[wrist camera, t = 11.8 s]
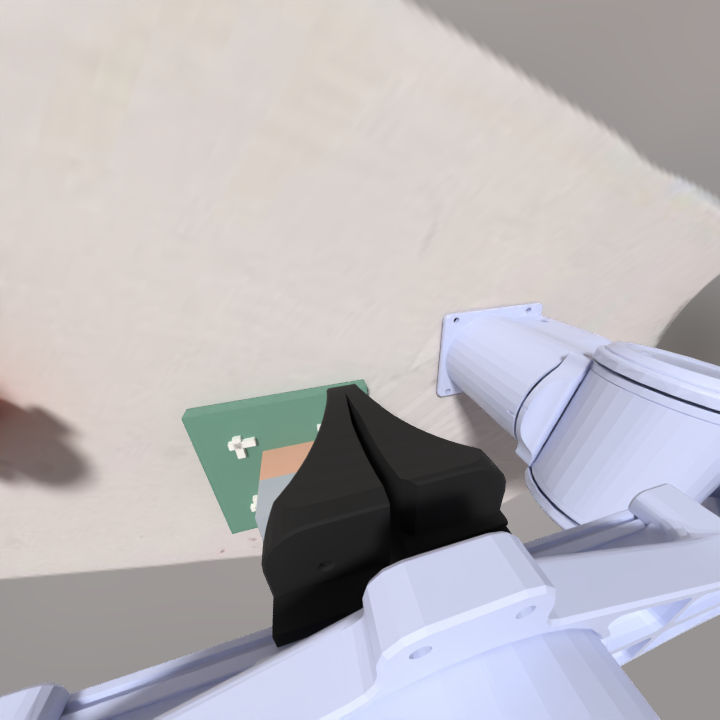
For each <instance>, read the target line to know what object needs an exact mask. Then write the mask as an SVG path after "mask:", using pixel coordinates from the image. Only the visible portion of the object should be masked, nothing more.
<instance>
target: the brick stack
mask: <svg viewBox="0 0 720 720" xmlns="http://www.w3.org/2000/svg"><path fill="white" fill-rule="evenodd" d="M313 443H314V441H311V442H306V443H301V444H296V445H291V446H286V447H282V448H277V449H272V450H267V451H263V452H262V461H261V470H260V479H259V488H258V497H257V506H256V515H255V520H256V523H257V526H258V529H259V531H260V534H261V537H262V540H263V541H264V535H265V530H266V526H267V522H268V518H269V514H270V511H271V508H272V505H273V502H274V501H275V500H276V498H277V497H278V496H279V495H280V494H281V492H282V491H283V490H284V489H285V487H286V486H287V485H288V484H289V482H290V481H291V480H292V478H293V477H294V475H295V474H296V472H297V471H298V469H299V468H300V466H301V465H302V463H303V462H304V460H305V458H306V456H307V455H308V453H309V451H310V449H311V447H312V445H313Z"/></svg>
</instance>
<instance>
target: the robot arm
mask: <svg viewBox="0 0 720 720" xmlns="http://www.w3.org/2000/svg"><path fill="white" fill-rule="evenodd" d="M542 309H543V306H542V304H540V303H531V304H523V305H515V306H507V307H500V308H492V309H484V310H477V311H469V312H461V313H454V314H448V315H446V316H445V317H444V319H443V328H442V339H441V350H440V360H439V371H438V382H437V394H438V395H439V396H447V395H453V394H458V393H463V392H465V393H466V394H467V395H468V396H469V397H470V398H471V399H472V400H474V401H475V402H476V403H477V404H478V405H479V406H480V407H481V408H482V409H483V410H484V411H485V412H487V413H488V414H489V415H490V416H491V417H492V418H493V419H494V420H495V421H496V422H497V423H498V424H499V425H501V426H502V427H503V428H504V429H505V430H506V431H507V432H508V433H509V434H510V435H511V436H512V437H513V438H515V439H516V440H517V441H518V446H517V448H516V451H515V453H516V454H517V455H518V456H519V457H520V458H521V459H522V460H523V461H524V462H525V463H526V464H527V465H528V467H527V468H526V471H525V481H526V484H527V487H528V489H529V491H530V493H531V494H532V496H533V497H534V499H535V500H536V502H537V503H538V504H539V505H540V507H541V508H542V509H543V511H544V512H545V513H546V514H547V515H548V516H549V517H550V518H551V519H552V520H553V521H554V522H555V523H556V524H557V525H558V526H560V527H561V528H562V529H563V531H560V532H557V533H554V534H551V535H548V536H545V537H542V538H539V539H536V540H533V541H530V542H528V543H524V544H522V543H521V541H520V540H519V539H518V537H516V536H514V535H512V534H511V532H510V531H509V529H508V528H507V527H506V525H507V524H508V521H507V519H506V517H505V516H504V515H503V513H502V512H501V511H500V507H501V503H502V499H503V496H504V492H505V485H506V480H505V477H504V474H503V473H502V472H501V471H500V470H499V469H498V468H497V466H496V465H495V464H494V463H493V462H492V460H491V459H490V458H489V457H488V456H487V455H486V454H485V453H484V452H483V451H482V450H481V449H477V448H474V447H470V446H466V445H462V444H458V443H455V442H452V441H449V440H446V439H443V438H440V437H437V436H435V435H432V434H429V433H427V432H425V431H423V430H420V429H418V428H416V427H414V426H412V425H410V424H408V423H406V422H404V421H403V420H401V419H399V418H397V417H396V416H394V415H393V414H391V413H390V412H388V411H387V410H386V409H384V408H383V407H381V406H380V405H379V404H378V403H376V402H375V401H374V400H373V399H372V398H370V397H369V396H368V395H367V394H366V393H365V392H364V391H362V390H361V389H360V388H359V387H358V386H357V385H356V384H350V385H344V386H339V387H333V388H328V390H327V391H326V393H327V401H326V407H325V411H324V416H323V419H322V422H321V425H320V428H319V431H318V434H317V436H316V438H315V441H314V443H313V445H312V447H311V449H310V451H309V453H308V455H307V456H306V458H305V460H304V462H303V463H302V465H301V466H300V468H299V469H298V471H297V472H296V474H295V475H294V477H293V478H292V480H291V481H290V482H289V484H288V485H287V486H286V487H285V489H284V490H283V491H282V492H281V494H280V495H279V496H278V497H277V498H276V500H275V501H274V502H273V505H272V508H271V511H270V514H269V518H268V522H267V526H266V530H265V535H264V541H263V552H262V569H263V573H264V575H265V578H266V580H267V583H268V585H269V587H270V590H271V592H272V594H273V597H274V601H273V626H272V627H270V628H267V629H264V630H261V631H258V632H255V633H252V634H249V635H246V636H243V637H240V638H237V639H234V640H231V641H228V642H225V643H222V644H219V645H215V646H212V647H209V648H206V649H204V650H201V651H197V652H194V653H191V654H188V655H185V656H183V657H179V658H176V659H173V660H171V661H167V662H164V663H161V664H158V665H155V666H152V667H149V668H146V669H143V670H140V671H137V672H134V673H131V674H128V675H125V676H122V677H119V678H116V679H113V680H110V681H107V682H104V683H101V684H98V685H95V686H92V687H88V688H85V689H83V690H79V691H76V692H73V693H70V692H69V691H68V690H67V689H66V687H64V686H63V685H61V684H58V683H55V682H47V683H40V684H35V685H32V686H29V687H26V688H23V689H19V690H16V691H13V692H10V693H7V694H4V695H0V720H660V718H659V717H658V716H657V714H656V713H655V712H654V710H653V709H652V708H651V706H650V705H649V704H648V702H647V701H646V700H645V699H644V697H643V696H642V694H641V693H640V692H639V690H638V689H637V688H636V687H635V685H634V684H633V683H632V681H631V680H630V679H629V677H628V676H627V675H626V673H625V672H624V671H623V669H622V668H621V667H620V666H622V665H623V664H625V663H627V662H629V661H631V660H633V659H634V658H636V657H638V656H640V655H642V654H644V653H646V652H647V651H649V650H651V649H653V648H655V647H657V646H659V645H660V644H662V643H664V642H666V641H668V640H670V639H672V638H674V637H676V636H677V635H679V634H681V633H683V632H685V631H687V630H689V629H691V628H693V627H695V626H697V625H699V624H701V623H703V622H705V621H707V620H709V619H711V618H713V617H715V616H718V615H720V366H716V365H713V364H710V363H706V362H703V361H700V360H697V359H693V358H690V357H686V356H683V355H680V354H676V353H672V352H669V351H665V350H661V349H656V348H653V347H649V346H645V345H640V344H635V343H630V342H622V341H618V342H614V343H613V342H612V341H610V340H609V339H607V338H605V337H603V336H600V335H598V334H595V333H592V332H589V331H586V330H583V329H580V328H577V327H574V326H571V325H568V324H565V323H563V322H560V321H557V320H554V319H551V318H548V317H545V316H542V315H541V313H542ZM526 310H527V311H526ZM456 317H457V319H456V321H455V322H454V319H455V318H456ZM447 389H448V390H447ZM446 390H447V391H446Z"/></svg>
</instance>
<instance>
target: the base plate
mask: <svg viewBox="0 0 720 720" xmlns="http://www.w3.org/2000/svg"><path fill="white" fill-rule="evenodd" d="M350 384H356V385H357V386H358V387H359V388H360V389H361V390H362V391H364V392H365V393H366V394H367V386H366V384H365V382H364V380H357V381H351V382H345V383H339V384H333V385H327V386H321V387H315V388H310V389H304V390H298V391H292V392H286V393H280V394H274V395H268V396H262V397H256V398H250V399H244V400H239V401H233V402H227V403H221V404H215V405H209V406H203V407H197V408H191V409H187V410H186V412H185V413H184V415H183V417H182V421H183V424H184V426H185V428H186V430H187V433H188V435H189V437H190V439H191V442H192V444H193V446H194V449H195V451H196V453H197V455H198V458H199V460H200V462H201V464H202V467H203V469H204V471H205V473H206V476H207V478H208V480H209V482H210V485H211V487H212V489H213V491H214V494H215V496H216V498H217V501H218V503H219V505H220V507H221V510H222V512H223V514H224V516H225V519H226V521H227V523H228V525H229V528H230V530H231V532H232V534H234V533H238V532H242V531H246V530H250V529H254V528H258V526H257V523H256V520H255V515H256V506H257V497H258V488H259V479H260V470H261V461H262V452H263V451H267V450H272V449H277V448H282V447H286V446H291V445H296V444H301V443H306V442H311V441H315V438H316V436H317V434H318V431H319V428H320V425H321V422H322V419H323V416H324V411H325V407H326V401H327V393H326V391H327V390H328V388H333V387H339V386H344V385H350Z"/></svg>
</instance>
